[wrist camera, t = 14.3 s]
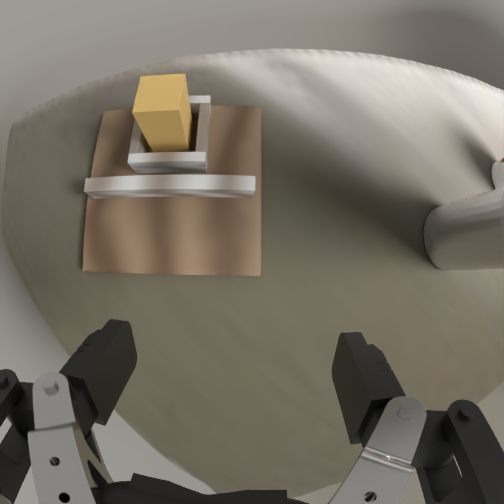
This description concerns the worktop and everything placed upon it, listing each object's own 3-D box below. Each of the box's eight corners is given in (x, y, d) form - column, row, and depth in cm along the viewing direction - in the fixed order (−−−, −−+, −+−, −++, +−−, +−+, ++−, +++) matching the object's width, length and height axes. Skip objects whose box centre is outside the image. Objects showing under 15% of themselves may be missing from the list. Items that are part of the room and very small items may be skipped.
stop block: (193, 126, 30) (185, 73, 20) (190, 156, 30) (179, 110, 20) (160, 126, 30) (141, 76, 20) (155, 156, 30) (132, 112, 20)
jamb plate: (260, 111, 32) (265, 91, 28) (259, 275, 31) (265, 276, 27) (106, 115, 30) (94, 97, 26) (86, 271, 29) (68, 270, 24)
